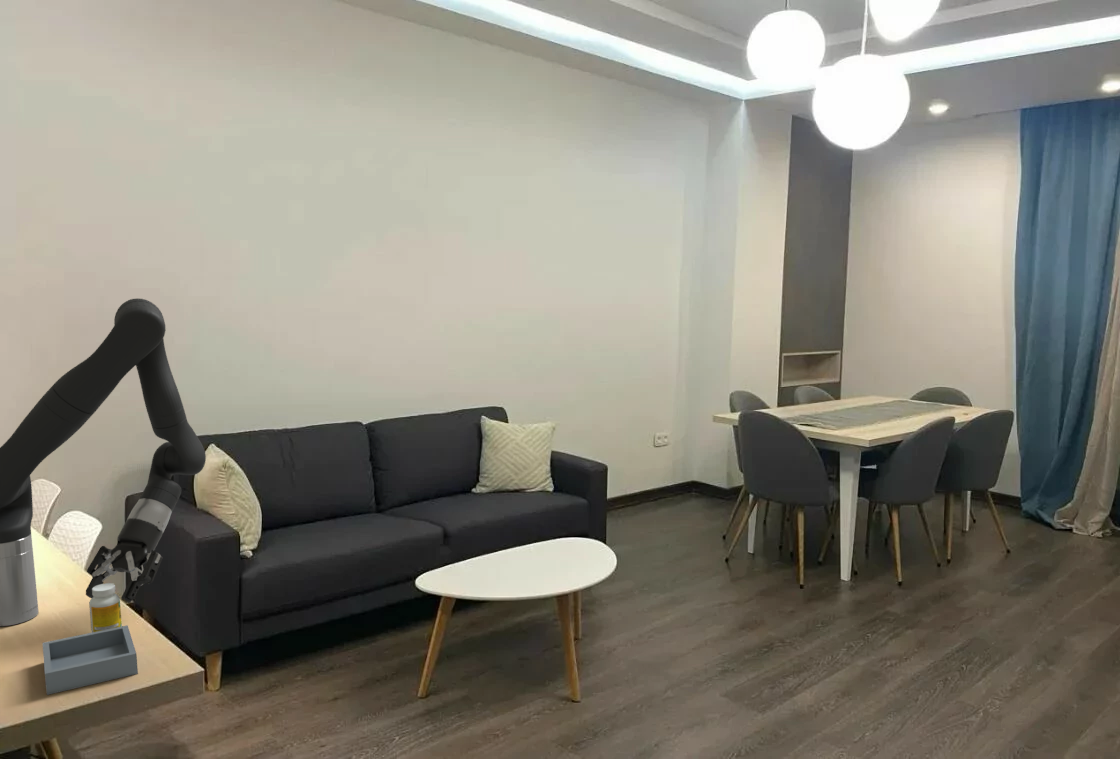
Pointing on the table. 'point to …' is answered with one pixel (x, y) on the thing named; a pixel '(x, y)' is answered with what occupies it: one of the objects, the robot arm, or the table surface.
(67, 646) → the tray
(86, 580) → the table surface
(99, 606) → the supplement bottle
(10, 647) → the table surface
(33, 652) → the table surface
